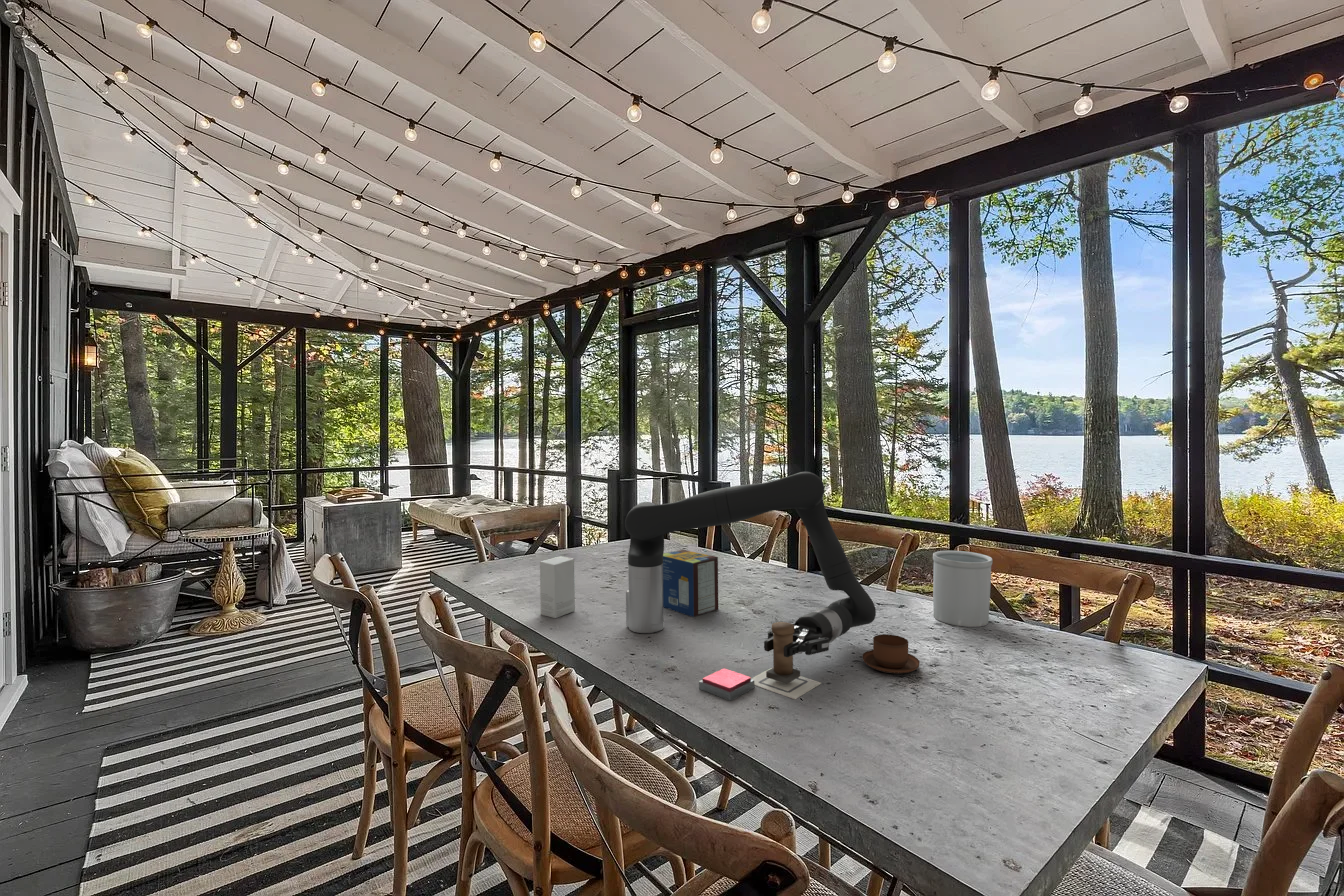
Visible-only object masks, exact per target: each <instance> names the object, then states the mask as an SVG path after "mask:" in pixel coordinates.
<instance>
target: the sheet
mask: <svg viewBox="0 0 1344 896" xmlns="http://www.w3.org/2000/svg"><path fill="white" fill-rule="evenodd" d="M772 668H773V667H771V668H768V669H767V670H765V671H762V672H761V673H759V674H757V675H755V676H753V677H751V679H752V680H754V687H757V688H760V689H764V690H767V691H769V692H772V693H776V694H779V695H780V696H784V697H786V698H788V699H789V698H790V699H793V700H797V699H799V698H800V697H802V696H803V695H805V694H807V693H808V692H810V691H812V690H813V689H815V688H816V687H819V686H820V685H821V684H822V682H820V681H817V680H813V679H811V678H807V677H805V676H802V675H800V677H798V678H796V679H795V680H793V681H791V682H790V683H788V684H785V683H782V682H779V681H776V680H773V679H770V678H767V677H766V671H768V670H770V669H772Z"/></svg>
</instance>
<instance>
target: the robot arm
mask: <svg viewBox="0 0 1344 896" xmlns="http://www.w3.org/2000/svg"><path fill="white" fill-rule="evenodd" d="M824 495H825V484H824V482H823V480H822V479H821V477H819V476H818V475H817V474H815V473H813V472H811V471H800V472H797V473H794V474H791V475H788V476H785V477H781V478H777V479H775V480H771V481H766V482H760V483H749V484H748V483H747V484H740V485H739V484H738V485H734V486H727V487H722V488H717V489H716V488H715V489H711V490H708V491H704V492H701V493H697V494H694V495H692V496H689V497H687V498H684V499H681V500H678V501H675V502H669V503H661V504H660V503H659V504H656V503H654V502H652V501H643V502H640V503H638V504H636V505H634V506H633V507H632V508H631V509H630V510H629V511H628V513H627V514H626V517H625V519H624V520H625V521H624V528H625V530H626V532H627V534H628V535H630V539H629V549H628V553H627V554H628V555H627V563H628V565H627V572H628V573H627V574H628V576H627V577H628V578H627V579H628V581H627V582H628V584H627V585H628V590H626V592H625V615H626V617H625V618H626V620H625V624H626V625H625V627H626V628H628V630H630V631H631V632H634V633H638V634H639V633H640V634H651V633H652V634H653V633H657V632H660V631H661V630H663V629H664V607H663V553H665V552H664V551H665V535H667V534H670V533H674V532H678V531H684V530H692V529H701V528H709V527H716V526H722V525H728V524H729V525H730V524H733V523H737V522H741V521H744V520H745V521H746V520H748V519H752V518H755V517H758V516H760V515H763V514H766V513H769V512H774V511H781V510H790V509H794V510H795V511H796V513H797V514H798V516H799V517H800V519H801V522H802V523H803V526H804V529H806V532H807V535H808V537H809V541H810V542H811V545H812V548H813V551H814V554H815V557H816V559H817V560H816V561H817V563H818V565H819V568H820V570H821V573H822V576H823V578H824V580H825V583H826V585H827V588H829V589H830V591H839V592H844V593H845V594H846V595H847V596H848V597H845V598H841V599H838V600H835V601H833V602H831V603H830V604H829V605H828V606H826V607H823V608H819V609H815V610H813V611H810V612H809V613H807V614H805V615H803V616H800V617H798V618H797V619H796V621H795V623H794V624H793V625H794V633H793V642H792V643H790V644H788V645H786V646H784V657H790V656H792V655H793V656H795V655H796V654H798V655H801V654H802V653H804V654H805V655H806V656H811V655H816V654H820V653H823V652H828V651H829V649H830V648H829V646H830V643H832V642H834V641H835V640H836V639H837V638H839V637H841V636H843V635H844V634H846V633H847V632H849V630H850V629H852V628H856V627H860V626H865V625H868V624H871V623H873V621H874V620H875V619H876V613H877V610H876V605H875V604H874V603H875V602H874V601H873V600H872V598H871V597H870V595H869V594H868V592H867V591H866V590H865V588H864V587H863V586H862V583H860V582H859V580H858V578H857V577H856V576H855V574H854V571H853V569H852V566H851V564H850V561H849V560H848V559H849V558H848V557H847V554H846V552H845V550H844V548H843V546H842V544H841V541H840V540H839V539H838V537H837V535H836V533H835V531H834V529H833V527H832V525H831V522H830V519H829V517H828V513H827V511H826V507H825V503H824V502H825V501H824ZM763 648H764V651H765V652H767V653H768V652H771V651H773V632H772V627H771V628H769V630H768V631H767V639H765V640H764V641H763Z"/></svg>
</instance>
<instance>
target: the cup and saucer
mask: <svg viewBox="0 0 1344 896" xmlns="http://www.w3.org/2000/svg"><path fill="white" fill-rule="evenodd" d="M872 644H873V645H872V647H873V648H872V649H870V650H867V651H865V652H863V653H862V656H861V658H862V660H863V662H864V663H865V664H866V665H867V666H868V667H870V668H872V669H873V670H876V671H878V672H883V673H888V674H897V675H899V674H900V675H901V674H907V673H911V672H914V671H916V670H917V669H918V668H919V667H920V664H921V663H920V660H919V658H917V657H916V656H915V655H913V654H911V653H909V640H908V639H907V638H905V637H903V636H899V635H896V634H886V633H885V634H877V635H875V636H873V638H872Z"/></svg>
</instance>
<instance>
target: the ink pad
mask: <svg viewBox="0 0 1344 896" xmlns="http://www.w3.org/2000/svg"><path fill="white" fill-rule="evenodd" d="M751 678H752V677H750V676H748V675H745V674H743V673H739V672H737V671H734V670H730V669H728V668H721V669H720V670H717V671H715V672H713V673H711V674H709V675H706V676H705V677H703V678H702V679H701V680H699V681H698V689H699V690H701V691H703V692H706V693H709V694H711V695H714V696H717V697H719V698H721V697H722V699H724V700H727V701H729V702H731V701H732V700H735V699H736V698H738V697H740V696H742V695H743V694H746V693H748V692H749V691H752V690H753V689H755V685H754V680H752V679H751Z"/></svg>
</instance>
